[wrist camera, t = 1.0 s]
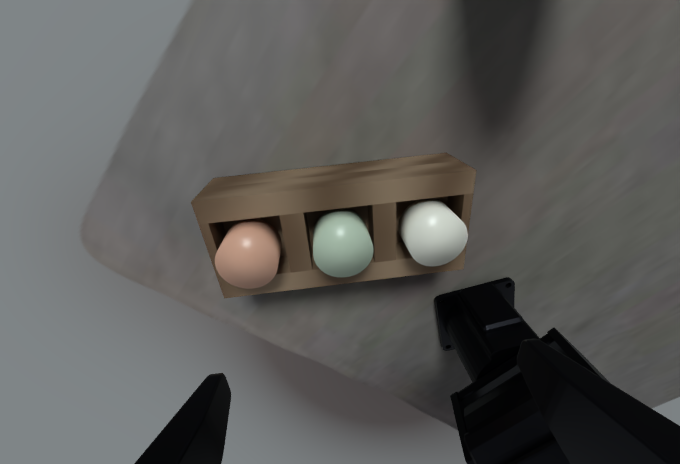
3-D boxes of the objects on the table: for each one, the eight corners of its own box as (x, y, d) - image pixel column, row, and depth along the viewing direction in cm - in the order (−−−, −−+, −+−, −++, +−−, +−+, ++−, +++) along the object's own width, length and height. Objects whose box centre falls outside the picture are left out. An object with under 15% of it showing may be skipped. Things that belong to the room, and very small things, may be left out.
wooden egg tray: (446, 152, 19) (476, 170, 16) (439, 238, 22) (463, 269, 19) (213, 178, 19) (190, 202, 15) (238, 262, 22) (224, 298, 18)
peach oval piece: (276, 215, 17) (271, 234, 15) (285, 262, 18) (282, 284, 16) (219, 222, 17) (206, 241, 15) (233, 268, 18) (224, 292, 16)
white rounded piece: (453, 195, 17) (471, 210, 15) (448, 243, 19) (464, 262, 17) (398, 201, 17) (409, 217, 15) (398, 249, 19) (408, 269, 17)
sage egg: (365, 205, 17) (372, 222, 15) (367, 252, 19) (374, 273, 17) (309, 211, 17) (309, 229, 15) (316, 259, 18) (316, 280, 16)
